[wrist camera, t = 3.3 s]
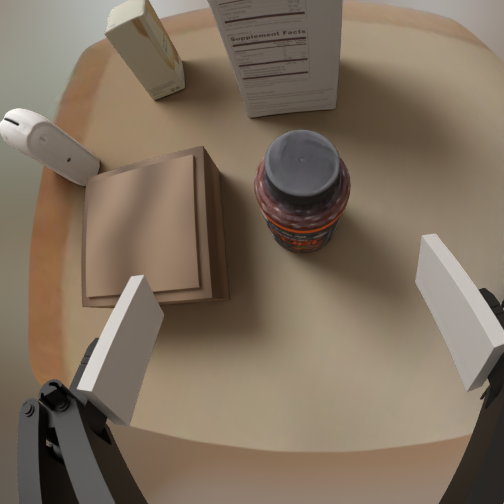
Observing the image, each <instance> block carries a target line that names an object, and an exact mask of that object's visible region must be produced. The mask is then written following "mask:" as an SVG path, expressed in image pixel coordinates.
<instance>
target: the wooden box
mask: <svg viewBox="0 0 504 504" xmlns="http://www.w3.org/2000/svg"><path fill="white" fill-rule="evenodd" d="M138 275H145V277H146V280H147V282H148V284H149V286H150V288H151V290H152V292H153V294H154V296H155V298H156V300H157V302H158V304H159V305H172V304H185V303H197V302H208V301H219V300H230V298H229V287H228V276H227V265H226V253H225V240H224V228H223V214H222V201H221V186H220V171H219V170H218V168H217V167H216V165H215V163H214V162H213V160H212V159H211V157H210V156H209V154H208V153H207V151H206V150H205V148H204V146H200V147H196V148H192V149H187V150H183V151H179V152H175V153H171V154H167V155H163V156H159V157H155V158H152V159H148V160H144V161H141V162H137V163H134V164H130V165H127V166H124V167H120V168H117V169H114V170H111V171H108V172H104V173H101V174H98V175H95V176H92V177H89V178H87V182H86V191H85V201H84V214H83V230H82V306H83V307H96V308H115V306H116V304H117V302H118V300H119V298H120V296H121V294H122V293H123V291H124V289H125V287H126V285H127V283H128V281H129V280H130V278H131V276H138Z"/></svg>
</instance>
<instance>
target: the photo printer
mask: <svg viewBox="0 0 504 504" xmlns="http://www.w3.org/2000/svg"><path fill="white" fill-rule="evenodd" d="M0 133H1V136H2V138H3V139H4V140H5V141H6V142H7V143H8V144H9V145H11V146H12V147H13V148H15V149H17V150H18V151H20V152H22V153H24V154H25V155H27V156H29V157H30V158H32V159H34V160H36V161H38V162H39V163H41V164H43V165H44V166H46V167H48V168H49V169H51V170H53V171H54V172H56V173H58V174H60V175H61V176H63V177H65V178H66V179H68V180H70V181H72V182H74V183H76V184H79V185H82V186H86V182H87V178H89V177H92V176H95V175H97V174H98V171H99V168H100V164H99V163H100V160H99V159H98V158H97V157H96V156H95V155H94V154H93V153H92V152H90V151H89V150H88V149H87V148H85V147H84V146H83V145H81V144H80V143H79V142H77V141H76V140H75V139H73V138H72V137H71V136H69V135H68V134H67V133H65V132H64V131H63V130H62V129H60V128H59V127H58V126H56V125H55V124H54V123H52V122H51V121H50V120H48V119H47V118H45V117H44V116H42V115H40V114H37V113H35V112H32V111H30V110H26V109H13V110H11V111H9V112H8V113H6V115H5V117H4V119H3V120H2V121H1V123H0Z"/></svg>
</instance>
